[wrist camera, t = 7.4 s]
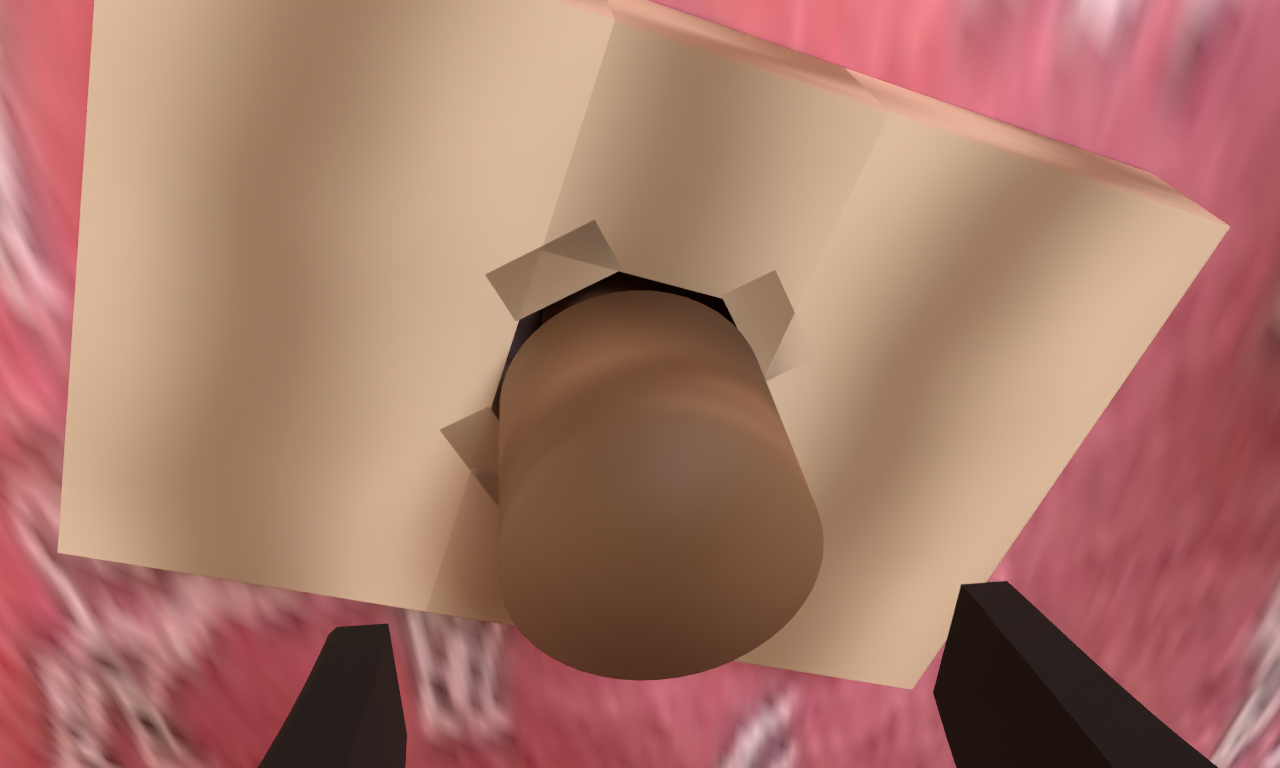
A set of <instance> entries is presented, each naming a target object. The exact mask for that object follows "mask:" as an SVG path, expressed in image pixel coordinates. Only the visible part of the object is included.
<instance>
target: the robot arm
mask: <svg viewBox="0 0 1280 768" xmlns="http://www.w3.org/2000/svg"><path fill="white" fill-rule="evenodd" d="M933 693H934V697H935V700H936V704H937V707H938V710H939V714H940V717H941V720H942V724H943V727H944V730H945V734H946V737H947V740H948V743H949V746H950V749H951V752H952V755H953V758H954V761H955V764H956V767H957V768H1218V767H1217V766H1216V765H1214V764H1213V763H1212V762H1211V761H1209V760H1208V759H1207V758H1206V757H1204V756H1203V755H1202V754H1201V753H1199V752H1198V751H1197V750H1196V749H1194V748H1193V747H1192V746H1191V745H1189V744H1188V743H1187V742H1186V741H1184V740H1183V739H1182V738H1181V737H1179V736H1178V735H1177V734H1176V733H1175V732H1173V731H1172V730H1171V729H1170V728H1169V727H1168V726H1166V725H1165V724H1164V723H1163V722H1162V721H1160V720H1159V719H1158V718H1157V717H1156V716H1155V715H1153V714H1152V713H1151V712H1150V711H1149V710H1148V709H1146V708H1145V707H1144V706H1143V705H1142V704H1141V703H1139V702H1138V701H1137V700H1136V699H1135V698H1134V697H1133V696H1132V695H1130V694H1129V693H1128V692H1127V691H1126V690H1125V689H1124V688H1122V687H1121V686H1120V685H1119V684H1118V683H1117V682H1116V681H1115V680H1114V679H1112V678H1111V677H1110V676H1109V675H1108V674H1107V673H1106V672H1105V671H1104V670H1102V669H1101V668H1100V667H1099V666H1098V665H1097V664H1096V663H1095V662H1094V661H1093V660H1091V659H1090V658H1089V657H1088V656H1087V655H1086V654H1085V653H1084V652H1083V651H1082V650H1081V649H1080V648H1078V647H1077V646H1076V645H1075V644H1074V643H1073V642H1072V641H1071V640H1070V639H1069V638H1068V637H1067V636H1066V635H1064V634H1063V633H1062V632H1061V631H1060V630H1059V629H1058V628H1057V627H1056V626H1055V625H1054V624H1053V623H1052V622H1051V621H1049V620H1048V619H1047V618H1046V617H1045V616H1044V615H1043V614H1042V613H1041V612H1040V611H1039V610H1038V609H1037V608H1036V607H1035V606H1033V605H1032V604H1031V603H1030V602H1029V601H1028V600H1027V599H1026V598H1025V597H1024V596H1023V595H1022V594H1020V593H1019V592H1018V591H1017V590H1016V589H1015V588H1014V587H1013V586H1012V585H1011V584H1009V583H1008V582H1007V581H1002V582H987V583H973V584H961V587H960V591H959V594H958V598H957V602H956V606H955V610H954V614H953V618H952V622H951V625H950V629H949V633H948V637H947V641H946V645H945V649H944V653H943V656H942V660H941V664H940V668H939V672H938V676H937V680H936V684H935V687H934V691H933ZM406 742H407V732H406V726H405V720H404V714H403V708H402V703H401V697H400V691H399V685H398V679H397V673H396V667H395V661H394V655H393V649H392V643H391V638H390V632H389V626H388V624H376V625H361V626H347V627H337V628H335V629H334V630H333V631H332V632H331V633H330V634H329V635H328V637H327V639H326V642H325V644H324V646H323V648H322V650H321V653H320V655H319V657H318V659H317V661H316V663H315V665H314V667H313V669H312V671H311V673H310V675H309V677H308V679H307V681H306V683H305V685H304V687H303V689H302V691H301V693H300V695H299V697H298V698H297V700H296V702H295V704H294V706H293V708H292V709H291V711H290V713H289V715H288V717H287V719H286V721H285V722H284V724H283V726H282V728H281V730H280V731H279V733H278V735H277V736H276V738H275V740H274V741H273V743H272V745H271V747H270V748H269V750H268V752H267V753H266V755H265V757H264V758H263V760H262V762H261V763H260V765H259V767H258V768H405V763H406Z"/></svg>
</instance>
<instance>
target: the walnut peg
mask: <svg viewBox="0 0 1280 768" xmlns="http://www.w3.org/2000/svg"><path fill="white" fill-rule="evenodd" d="M823 547H824V539H823V529H822V524H821V520H820V517H819V513H818V510H817V508H816V505H815V503H814V500H813V498H812V495H811V493H810V490H809V488H808V485H807V483H806V480H805V478H804V475H803V473H802V470H801V468H800V465H799V463H798V460H797V458H796V455H795V453H794V450H793V448H792V445H791V443H790V440H789V438H788V435H787V433H786V430H785V428H784V425H783V423H782V420H781V418H780V415H779V413H778V410H777V408H776V405H775V403H774V400H773V398H772V395H771V393H770V390H769V388H768V385H767V383H766V380H765V378H764V375H763V373H762V370H761V368H760V365H759V363H758V360H757V358H756V356H755V354H754V352H753V350H752V348H751V346H750V345H749V343H748V342H747V340H746V339H745V337H744V336H743V335H742V333H741V332H740V331H739V330H738V329H737V328H736V327H735V326H734V325H733V324H732V323H731V322H730V321H728V320H727V319H726V318H725V317H723V316H722V315H721V314H720V313H718V312H716V311H715V310H713V309H711V308H709V307H708V306H706V305H704V304H702V303H699V302H697V301H694V300H692V299H690V298H688V295H687V293H686V292H685V290H684V288H680V287H676V286H673V285H669V284H665V283H661V282H658V281H654V280H650V279H646V278H642V277H639V276H635V275H631V274H627V273H624V272H620V271H618V272H616V273H614V274H612V275H610V276H608V277H606V278H604V279H602V280H600V281H598V282H596V283H593V284H591V285H589V286H587V287H585V288H583V289H581V290H579V291H577V292H575V293H573V294H571V295H569V296H567V297H565V298H563V299H561V300H559V301H557V302H555V303H553V304H551V305H548V306H546V307H544V309H543V313H542V322H541V327H539V328H538V329H537V330H536V331H535V332H534V333H533V334H532V335H531V336H530V337H529V338H528V339H527V340H526V341H525V342H524V344H523V345H522V346H521V348H520V349H519V351H518V352H517V354H516V355H515V356H514V358H513V360H512V362H511V364H510V366H509V368H508V370H507V372H506V375H505V378H504V382H503V385H502V389H501V395H500V415H499V516H498V582H499V588H500V594H501V597H502V600H503V603H504V605H505V608H506V610H507V612H508V614H509V616H510V617H511V619H512V621H513V623H514V624H515V625H516V627H517V628H518V629H519V630H520V632H521V633H522V634H523V635H524V636H525V637H526V638H527V639H528V640H529V641H530V642H531V643H532V644H533V645H535V646H536V647H537V648H538V649H540V650H541V651H543V652H544V653H545V654H547V655H548V656H550V657H551V658H553V659H555V660H557V661H559V662H561V663H563V664H565V665H567V666H570V667H572V668H575V669H578V670H580V671H583V672H587V673H591V674H594V675H598V676H603V677H609V678H616V679H625V680H660V679H669V678H677V677H682V676H687V675H692V674H696V673H700V672H703V671H706V670H710V669H713V668H716V667H719V666H721V665H724V664H726V663H728V662H731V661H733V660H735V659H737V658H739V657H741V656H743V655H745V654H747V653H749V652H751V651H752V650H754V649H755V648H757V647H759V646H760V645H762V644H763V643H765V642H766V641H768V640H769V639H770V638H771V637H772V636H774V635H775V634H776V633H777V632H779V631H780V630H781V629H782V628H783V627H784V626H785V625H786V624H787V623H788V622H789V621H790V620H791V619H792V618H793V617H794V616H795V614H796V613H797V612H798V611H799V609H800V608H801V607H802V605H803V604H804V603H805V601H806V599H807V598H808V596H809V594H810V593H811V591H812V589H813V587H814V584H815V582H816V580H817V577H818V575H819V571H820V567H821V563H822V559H823Z"/></svg>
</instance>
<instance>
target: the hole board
mask: <svg viewBox="0 0 1280 768" xmlns="http://www.w3.org/2000/svg"><path fill="white" fill-rule="evenodd" d="M1229 228H1230V226H1229V225H1227V224H1226V223H1224V222H1223V221H1221V220H1220V219H1218V218H1217V217H1216V216H1214V215H1213V214H1211V213H1210V212H1208V211H1207V210H1205V209H1204V208H1202V207H1201V206H1199V205H1198V204H1196V203H1195V202H1194V201H1192V200H1191V199H1189V198H1188V197H1186V196H1185V195H1183V194H1182V193H1180V192H1179V191H1177V190H1176V189H1175V188H1173V187H1172V186H1170V185H1169V184H1167V183H1166V182H1164V181H1163V180H1161V179H1160V178H1158V177H1157V176H1155V175H1154V174H1152V173H1149V172H1146V171H1143V170H1141V169H1138V168H1135V167H1132V166H1129V165H1126V164H1123V163H1120V162H1117V161H1114V160H1111V159H1109V158H1106V157H1103V156H1100V155H1097V154H1094V153H1091V152H1088V151H1085V150H1082V149H1079V148H1077V147H1074V146H1071V145H1068V144H1065V143H1062V142H1059V141H1056V140H1053V139H1050V138H1047V137H1045V136H1042V135H1039V134H1036V133H1033V132H1030V131H1027V130H1024V129H1021V128H1018V127H1015V126H1013V125H1010V124H1007V123H1004V122H1001V121H998V120H995V119H992V118H989V117H986V116H983V115H980V114H978V113H975V112H972V111H969V110H966V109H963V108H960V107H957V106H954V105H951V104H948V103H946V102H943V101H940V100H937V99H934V98H931V97H928V96H925V95H922V94H919V93H916V92H914V91H911V90H908V89H905V88H902V87H899V86H896V85H893V84H890V83H887V82H884V81H882V80H879V79H876V78H873V77H870V76H867V75H864V74H861V73H858V72H855V71H852V70H850V69H847V68H844V67H841V66H838V65H835V64H832V63H829V62H826V61H823V60H820V59H817V58H815V57H812V56H809V55H806V54H803V53H800V52H797V51H794V50H791V49H788V48H785V47H783V46H780V45H777V44H774V43H771V42H768V41H765V40H762V39H759V38H756V37H753V36H751V35H748V34H745V33H742V32H739V31H736V30H733V29H730V28H727V27H724V26H721V25H719V24H716V23H713V22H710V21H707V20H704V19H701V18H698V17H695V16H692V15H689V14H687V13H684V12H681V11H678V10H675V9H672V8H669V7H666V6H663V5H660V4H657V3H654V2H652V1H649V0H94V15H93V30H92V45H91V59H90V74H89V89H88V104H87V119H86V134H85V149H84V164H83V179H82V194H81V209H80V224H79V239H78V254H77V269H76V284H75V299H74V314H73V329H72V344H71V359H70V374H69V389H68V404H67V419H66V434H65V449H64V464H63V479H62V494H61V509H60V524H59V539H58V553H63V554H69V555H75V556H82V557H88V558H94V559H100V560H107V561H113V562H119V563H125V564H131V565H138V566H144V567H150V568H156V569H163V570H169V571H175V572H181V573H188V574H194V575H200V576H206V577H213V578H219V579H225V580H231V581H238V582H244V583H250V584H256V585H263V586H269V587H275V588H281V589H288V590H294V591H300V592H306V593H313V594H319V595H325V596H331V597H338V598H344V599H350V600H356V601H362V602H369V603H375V604H381V605H387V606H394V607H400V608H406V609H412V610H419V611H425V612H431V613H437V614H444V615H450V616H456V617H462V618H469V619H475V620H481V621H487V622H494V623H500V624H506V625H512V626H516V625H515V624H514V623H513V621H512V619H511V617H510V616H509V614H508V612H507V610H506V608H505V605H504V603H503V600H502V597H501V594H500V588H499V582H498V516H499V415H500V395H501V389H502V385H503V382H504V378H505V375H506V372H507V370H508V368H509V366H510V363H509V362H508V361H507V356H508V353H509V350H510V347H511V344H512V341H513V338H514V335H515V331H516V328H517V325H518V322H519V320H520V319H522V318H524V317H526V316H528V315H530V314H532V313H534V312H536V311H538V310H540V309H542V308H544V307H546V306H548V305H551V304H553V303H555V302H557V301H559V300H561V299H563V298H565V297H567V296H569V295H571V294H573V293H575V292H577V291H579V290H581V289H583V288H585V287H587V286H589V285H591V284H593V283H596V282H598V281H600V280H602V279H604V278H606V277H608V276H610V275H612V274H614V273H616V272H618V271H620V272H624V273H627V274H631V275H635V276H639V277H642V278H646V279H650V280H654V281H658V282H661V283H665V284H669V285H673V286H676V287H680V288H684V289H688V290H692V291H695V292H699V293H703V294H707V295H710V296H714V297H718V298H722V299H723V300H724V302H725V304H726V306H727V308H728V310H729V312H730V314H731V316H732V318H733V321H732V324H733V325H734V326H735V327H736V328H737V329H738V330H739V331H740V332H741V333H742V335H743V336H744V337H745V339H746V340H747V342H748V343H749V345H750V346H751V348H752V350H753V352H754V354H755V356H756V358H757V360H758V363H759V365H760V368H761V370H762V373H763V375H764V378H765V380H766V383H767V385H768V388H769V390H770V393H771V395H772V398H773V400H774V403H775V405H776V408H777V410H778V413H779V415H780V418H781V420H782V423H783V425H784V428H785V430H786V433H787V435H788V438H789V440H790V443H791V445H792V448H793V450H794V453H795V455H796V458H797V460H798V463H799V465H800V468H801V470H802V473H803V475H804V478H805V480H806V483H807V485H808V488H809V490H810V493H811V495H812V498H813V500H814V503H815V505H816V508H817V510H818V513H819V517H820V520H821V524H822V529H823V539H824V547H823V559H822V563H821V567H820V571H819V575H818V577H817V580H816V582H815V584H814V587H813V589H812V591H811V593H810V594H809V596H808V598H807V599H806V601H805V603H804V604H803V605H802V607H801V608H800V609H799V611H798V612H797V613H796V614H795V616H794V617H793V618H792V619H791V620H790V621H789V622H788V623H787V624H786V625H785V626H784V627H783V628H782V629H781V630H780V631H779V632H777V633H776V634H775V635H774V636H772V637H771V638H770V639H769V640H768V641H766V642H765V643H763V644H762V645H760V646H759V647H757V648H755V649H754V650H752V651H751V652H749V653H747V654H745V655H743V656H741V657H739V658H737V659H735V660H733V661H737V662H743V663H750V664H756V665H762V666H768V667H775V668H781V669H787V670H793V671H800V672H806V673H812V674H818V675H824V676H831V677H837V678H843V679H849V680H856V681H862V682H868V683H874V684H881V685H887V686H893V687H899V688H906V689H913V688H914V686H915V685H916V683H917V682H918V680H919V679H920V677H921V676H922V675H923V673H924V672H925V670H926V669H927V667H928V666H929V664H930V663H931V661H932V660H933V659H934V657H935V656H936V654H937V653H938V651H939V650H940V648H941V647H942V645H943V644H944V643H945V641H946V640H947V637H948V633H949V629H950V625H951V622H952V618H953V614H954V610H955V606H956V602H957V598H958V594H959V591H960V587H961V584H973V583H986V581H987V580H988V579H989V577H990V576H991V574H992V573H993V571H994V570H995V568H996V567H997V565H998V564H999V563H1000V561H1001V560H1002V558H1003V557H1004V555H1005V554H1006V552H1007V551H1008V549H1009V548H1010V547H1011V545H1012V544H1013V542H1014V541H1015V539H1016V538H1017V536H1018V535H1019V533H1020V532H1021V531H1022V529H1023V528H1024V526H1025V525H1026V523H1027V522H1028V520H1029V519H1030V517H1031V516H1032V515H1033V513H1034V512H1035V510H1036V509H1037V507H1038V506H1039V504H1040V503H1041V501H1042V500H1043V499H1044V497H1045V496H1046V494H1047V493H1048V491H1049V490H1050V488H1051V487H1052V485H1053V484H1054V483H1055V481H1056V480H1057V478H1058V477H1059V475H1060V474H1061V472H1062V471H1063V470H1064V468H1065V467H1066V465H1067V464H1068V462H1069V461H1070V459H1071V458H1072V456H1073V455H1074V454H1075V452H1076V451H1077V449H1078V448H1079V446H1080V445H1081V443H1082V442H1083V440H1084V439H1085V438H1086V436H1087V435H1088V433H1089V432H1090V430H1091V429H1092V427H1093V426H1094V424H1095V423H1096V422H1097V420H1098V419H1099V417H1100V416H1101V414H1102V413H1103V411H1104V410H1105V408H1106V407H1107V406H1108V404H1109V403H1110V401H1111V400H1112V398H1113V397H1114V395H1115V394H1116V392H1117V391H1118V390H1119V388H1120V387H1121V385H1122V384H1123V382H1124V381H1125V379H1126V378H1127V376H1128V375H1129V374H1130V372H1131V371H1132V369H1133V368H1134V366H1135V365H1136V363H1137V362H1138V360H1139V359H1140V358H1141V356H1142V355H1143V353H1144V352H1145V350H1146V349H1147V347H1148V346H1149V344H1150V343H1151V342H1152V340H1153V339H1154V337H1155V336H1156V334H1157V333H1158V331H1159V330H1160V328H1161V327H1162V326H1163V324H1164V323H1165V321H1166V320H1167V318H1168V317H1169V315H1170V314H1171V312H1172V311H1173V310H1174V308H1175V307H1176V305H1177V304H1178V302H1179V301H1180V299H1181V298H1182V296H1183V295H1184V294H1185V292H1186V291H1187V289H1188V288H1189V286H1190V285H1191V283H1192V282H1193V280H1194V279H1195V278H1196V276H1197V275H1198V273H1199V272H1200V270H1201V269H1202V267H1203V266H1204V264H1205V263H1206V262H1207V260H1208V259H1209V257H1210V256H1211V254H1212V253H1213V251H1214V250H1215V248H1216V247H1217V246H1218V244H1219V243H1220V241H1221V240H1222V238H1223V237H1224V235H1225V234H1226V232H1227V231H1228V230H1229Z"/></svg>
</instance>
